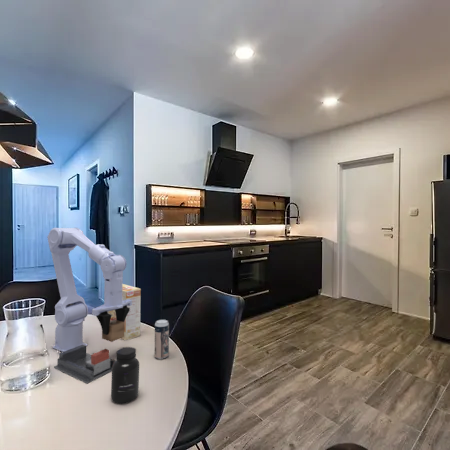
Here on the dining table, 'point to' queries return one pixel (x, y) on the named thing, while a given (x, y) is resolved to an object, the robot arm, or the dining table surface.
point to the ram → (99, 361)
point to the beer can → (161, 339)
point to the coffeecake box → (130, 312)
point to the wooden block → (114, 331)
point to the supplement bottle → (125, 376)
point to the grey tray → (79, 364)
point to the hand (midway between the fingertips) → (112, 331)
